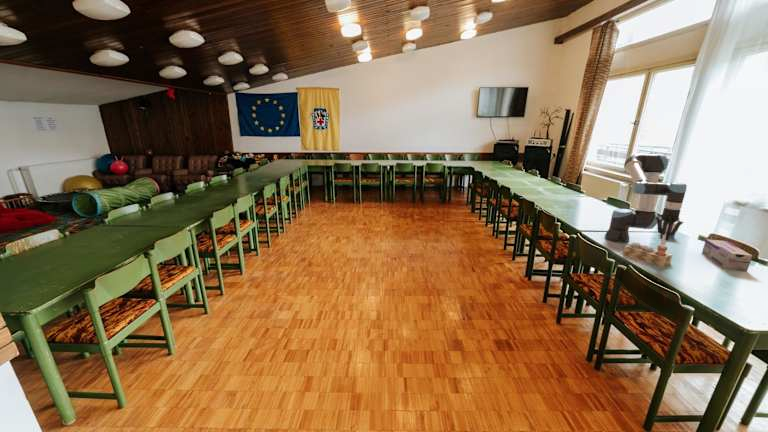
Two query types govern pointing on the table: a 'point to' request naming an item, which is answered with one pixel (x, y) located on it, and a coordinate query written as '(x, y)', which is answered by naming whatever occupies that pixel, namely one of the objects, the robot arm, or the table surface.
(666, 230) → the ink box
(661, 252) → the terracotta plunger
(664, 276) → the table surface
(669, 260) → the press block
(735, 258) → the surgical sutures box
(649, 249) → the grey plunger middle
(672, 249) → the table surface
